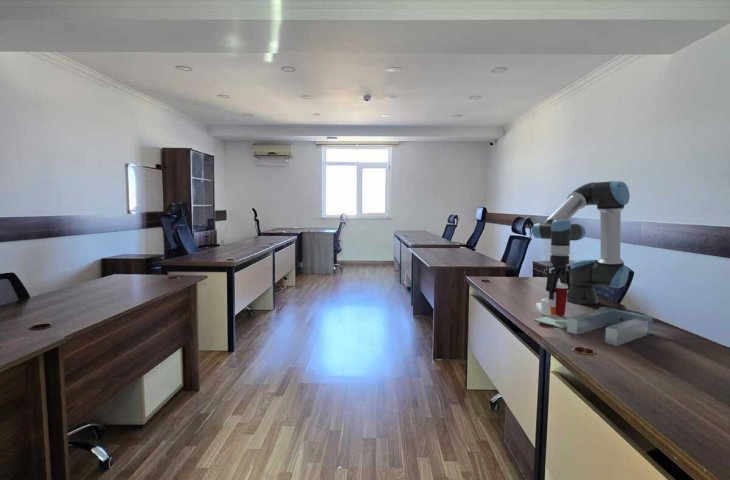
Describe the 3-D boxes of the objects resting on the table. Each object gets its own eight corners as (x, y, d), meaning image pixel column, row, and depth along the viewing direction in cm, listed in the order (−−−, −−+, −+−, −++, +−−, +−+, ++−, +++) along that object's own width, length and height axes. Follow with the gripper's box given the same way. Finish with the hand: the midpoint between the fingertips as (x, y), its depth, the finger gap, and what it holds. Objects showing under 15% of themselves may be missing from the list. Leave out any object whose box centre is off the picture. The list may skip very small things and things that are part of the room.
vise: (612, 318, 177) (613, 304, 176) (661, 329, 161) (662, 313, 160) (566, 332, 158) (567, 315, 157) (616, 346, 142) (617, 327, 141)
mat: (552, 316, 182) (552, 314, 182) (581, 323, 170) (581, 322, 170) (533, 320, 174) (533, 319, 174) (563, 328, 163) (563, 327, 162)
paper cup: (569, 314, 172) (570, 283, 171) (564, 317, 166) (565, 286, 165) (550, 311, 177) (552, 281, 176) (545, 314, 172) (546, 283, 171)
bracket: (563, 316, 178) (563, 302, 178) (542, 315, 180) (543, 301, 180) (553, 307, 197) (553, 294, 197) (535, 306, 199) (535, 294, 199)
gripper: (565, 252, 178) (563, 300, 180) (537, 255, 168) (536, 306, 169) (581, 254, 172) (579, 304, 174) (553, 257, 161) (551, 310, 163)
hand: (557, 305), depth 171 cm, fingers closed on paper cup, 8 cm apart
